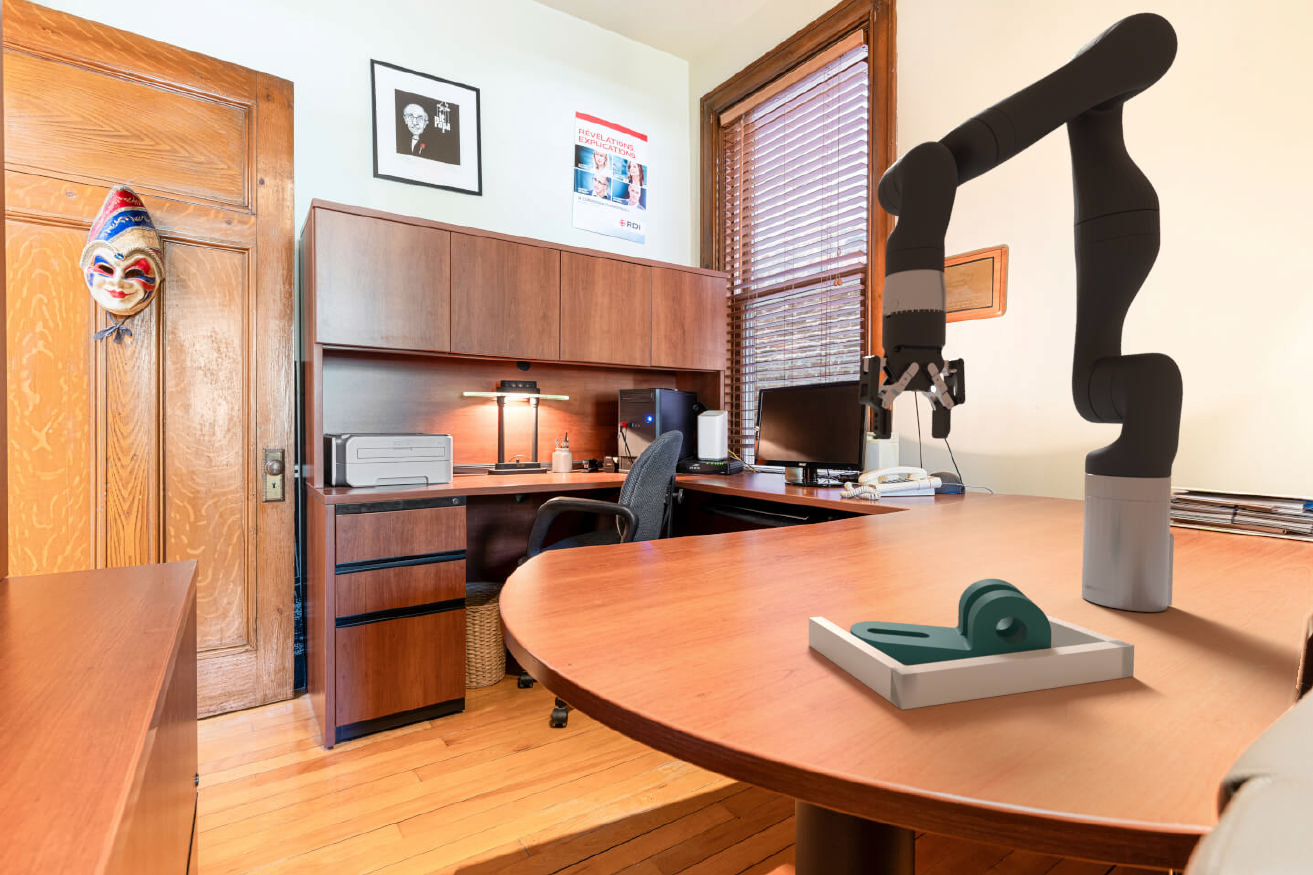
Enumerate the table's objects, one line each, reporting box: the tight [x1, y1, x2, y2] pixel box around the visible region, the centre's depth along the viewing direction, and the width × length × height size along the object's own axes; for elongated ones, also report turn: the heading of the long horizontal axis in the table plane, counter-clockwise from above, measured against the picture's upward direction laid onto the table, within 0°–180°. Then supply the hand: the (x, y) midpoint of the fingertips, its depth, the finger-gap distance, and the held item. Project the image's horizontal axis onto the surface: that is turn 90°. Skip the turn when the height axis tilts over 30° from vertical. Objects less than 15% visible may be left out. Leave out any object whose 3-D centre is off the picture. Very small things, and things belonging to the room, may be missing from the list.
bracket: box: [849, 578, 1051, 666], centre depth 64 cm, size 18×7×8 cm, turn 75°
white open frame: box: [808, 613, 1135, 710], centre depth 63 cm, size 26×16×3 cm, turn 106°
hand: (911, 438), depth 79 cm, fingers open, 8 cm apart
